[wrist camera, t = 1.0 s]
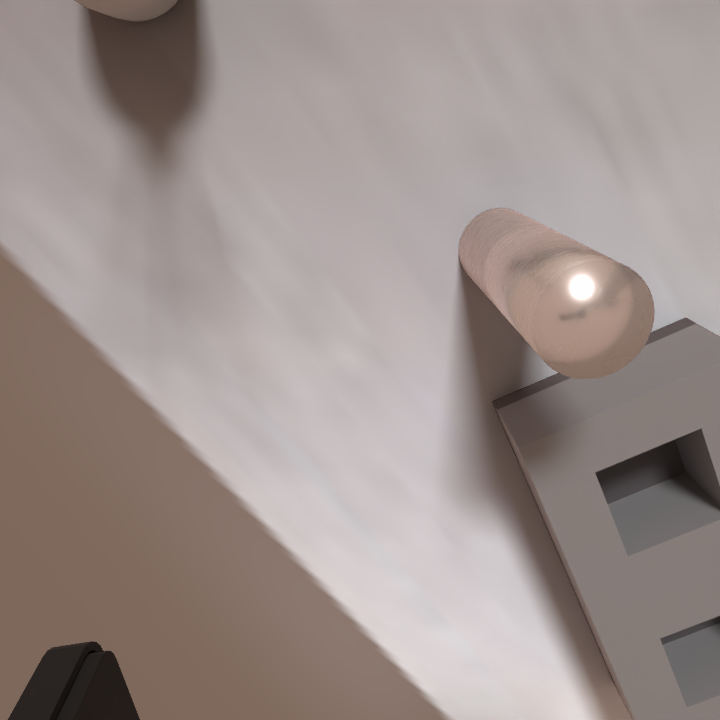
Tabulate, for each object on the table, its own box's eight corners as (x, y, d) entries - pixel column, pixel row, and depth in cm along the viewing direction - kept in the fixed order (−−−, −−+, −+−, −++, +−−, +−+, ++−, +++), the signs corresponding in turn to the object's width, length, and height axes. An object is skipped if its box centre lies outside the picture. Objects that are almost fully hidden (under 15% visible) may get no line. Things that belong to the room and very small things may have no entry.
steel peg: (520, 194, 30) (633, 239, 19) (547, 266, 32) (669, 348, 20) (446, 229, 31) (514, 293, 20) (475, 299, 32) (555, 398, 21)
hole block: (685, 317, 33) (745, 350, 28) (779, 621, 39) (841, 690, 34) (492, 401, 34) (518, 447, 29) (614, 684, 40) (652, 759, 35)
